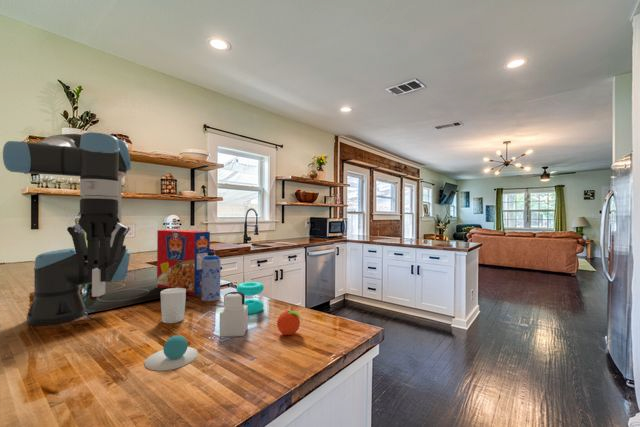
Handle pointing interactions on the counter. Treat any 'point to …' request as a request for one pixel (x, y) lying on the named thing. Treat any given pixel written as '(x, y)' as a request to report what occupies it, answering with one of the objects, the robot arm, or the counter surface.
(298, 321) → the clementine
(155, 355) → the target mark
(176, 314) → the white cup
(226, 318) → the medicine bottle
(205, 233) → the pasta box
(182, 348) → the ball
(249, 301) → the donuts
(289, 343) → the counter surface
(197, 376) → the counter surface
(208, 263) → the aerosol can
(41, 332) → the counter surface
